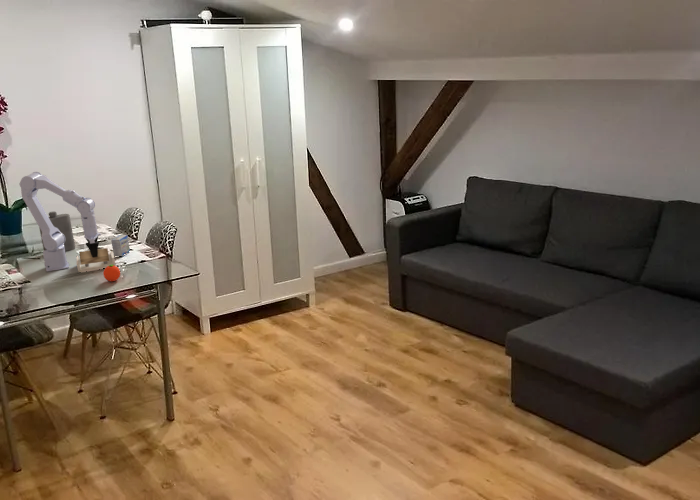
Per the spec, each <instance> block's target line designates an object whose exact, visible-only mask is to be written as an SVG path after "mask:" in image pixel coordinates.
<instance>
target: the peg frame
mask: <svg viewBox="0 0 700 500" xmlns="http://www.w3.org/2000/svg"><path fill="white" fill-rule="evenodd" d="M108 256H109V261H104V262H97V263H90V264H83V265H81V261H80V255H77V256H76V259H75V260H76V266H77V272H78V273H79V272H81V273H85V272H86V271H87V272H92V271H98V270H99V269H100V270H104V269H103V268H106V267H107V266H110V265H114V266H116V262H115V261H116V260H115V257H114V254H113V250H110V253H108ZM100 270H99V271H100ZM87 272H86V273H87ZM79 274H80V273H79Z"/></svg>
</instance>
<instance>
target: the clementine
mask: <svg viewBox="0 0 700 500" xmlns="http://www.w3.org/2000/svg"><path fill="white" fill-rule="evenodd" d="M102 275H103V277H104V278H105V280H106V281H108V282H115V281H117V280H118V279H119V278H120V277H121V270H120V268H119V267H118V266H117V265H115V266H114V265H110V266H107V267H106V268H105V269H103V274H102Z"/></svg>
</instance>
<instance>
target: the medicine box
mask: <svg viewBox="0 0 700 500" xmlns="http://www.w3.org/2000/svg"><path fill="white" fill-rule="evenodd" d="M111 247H112V248H111V249H112V251H113V254H114V256H123V255H124V254H126V253H128V252H129V251H130V252H131V248H130V243H129V237H128V235H127V234H119V235H117V236H116V237H114V238H113V239H111ZM130 252H129V253H130ZM129 253H128V254H129ZM126 255H127V254H126ZM123 257H124V256H123Z"/></svg>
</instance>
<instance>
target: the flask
mask: <svg viewBox="0 0 700 500" xmlns="http://www.w3.org/2000/svg"><path fill="white" fill-rule="evenodd" d="M70 215H71V214H69V213H62V214H57V212H56V211H49V212H48V217H49V219H50V221H51V222H52V224H53V226H54V227H56V228H58V229H59V231H60V232H61V233H62V234H64V236H65V238H66V240H65V243H64V248H65V252H69V251H74V250H75V249H76V244H75V238H74V232H73V228H72V227H73V226H72V222H71V217H70ZM38 228H39V234H40V238H41V237H42V231H41V229H40V227H39V226H38ZM41 243H42V248H43V251H44V250H47V249H46V248H45V247H44V245H43V240H42V238H41Z"/></svg>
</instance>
